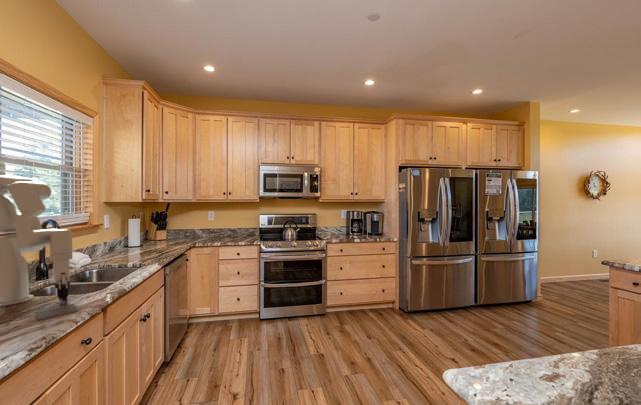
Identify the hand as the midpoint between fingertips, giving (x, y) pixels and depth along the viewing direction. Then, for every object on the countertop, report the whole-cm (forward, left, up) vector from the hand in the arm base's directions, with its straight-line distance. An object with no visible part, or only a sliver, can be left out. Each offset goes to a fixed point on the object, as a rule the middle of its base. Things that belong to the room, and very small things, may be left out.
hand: (62, 296), depth 128 cm
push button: (0, 0, -3) cm, 3 cm away
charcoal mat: (+12, -3, -3) cm, 13 cm away
